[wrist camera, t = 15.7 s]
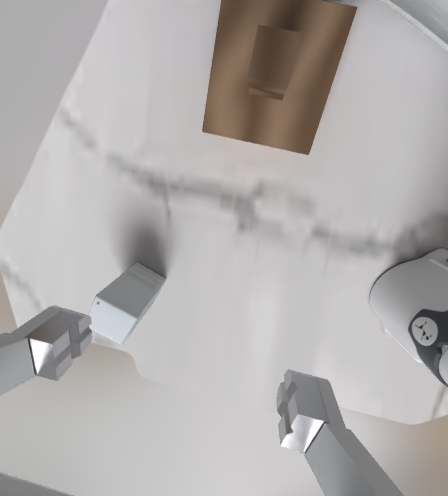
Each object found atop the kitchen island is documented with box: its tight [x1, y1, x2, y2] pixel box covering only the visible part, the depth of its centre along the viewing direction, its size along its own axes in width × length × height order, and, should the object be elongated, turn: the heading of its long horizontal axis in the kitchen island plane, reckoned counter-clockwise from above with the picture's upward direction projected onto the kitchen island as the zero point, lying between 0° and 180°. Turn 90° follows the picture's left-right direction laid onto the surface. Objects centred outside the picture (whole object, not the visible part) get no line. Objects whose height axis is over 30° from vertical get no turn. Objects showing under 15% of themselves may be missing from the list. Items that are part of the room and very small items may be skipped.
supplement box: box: [88, 262, 166, 345], centre depth 40 cm, size 7×7×13 cm
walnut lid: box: [202, 0, 357, 155], centre depth 23 cm, size 14×14×6 cm
